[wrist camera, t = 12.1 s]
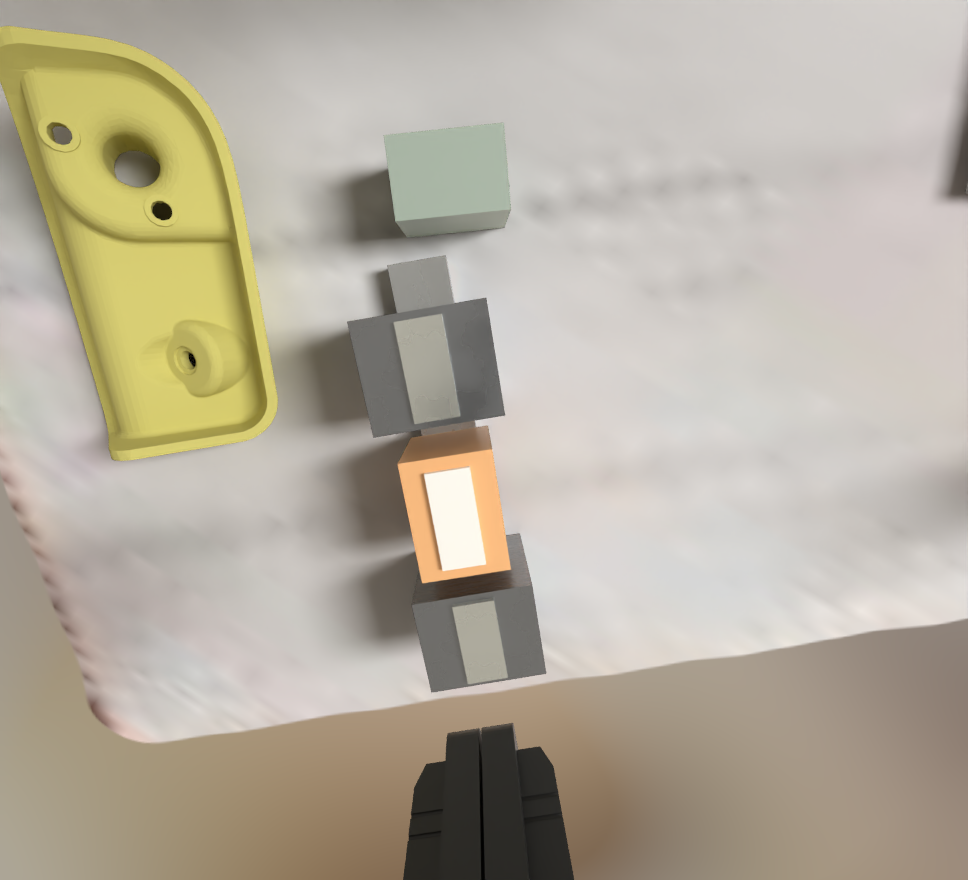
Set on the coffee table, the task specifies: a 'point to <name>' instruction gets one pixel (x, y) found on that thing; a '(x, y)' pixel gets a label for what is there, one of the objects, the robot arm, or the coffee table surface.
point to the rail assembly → (437, 409)
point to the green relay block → (449, 179)
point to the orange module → (454, 504)
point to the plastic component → (145, 241)
